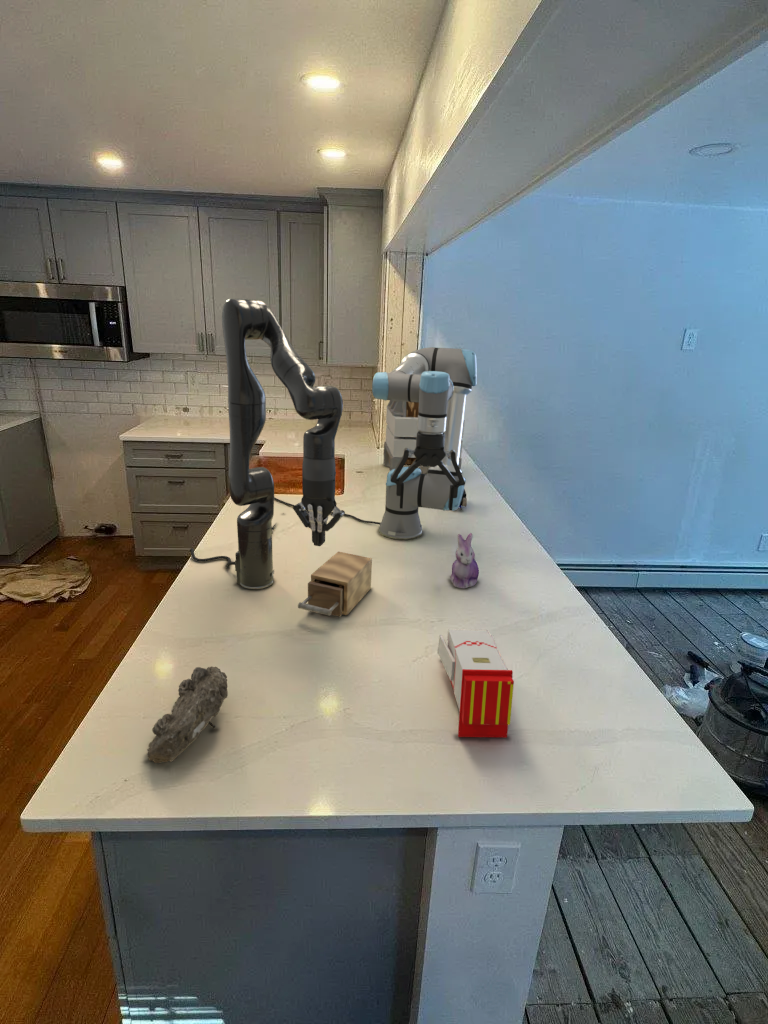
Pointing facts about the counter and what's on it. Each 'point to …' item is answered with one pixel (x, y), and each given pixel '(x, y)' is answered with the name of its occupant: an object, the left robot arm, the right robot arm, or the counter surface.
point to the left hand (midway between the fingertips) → (318, 544)
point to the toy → (478, 682)
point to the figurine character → (463, 500)
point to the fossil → (189, 713)
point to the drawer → (324, 598)
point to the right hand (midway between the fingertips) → (425, 508)
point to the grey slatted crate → (402, 432)
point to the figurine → (464, 564)
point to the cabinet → (347, 576)
